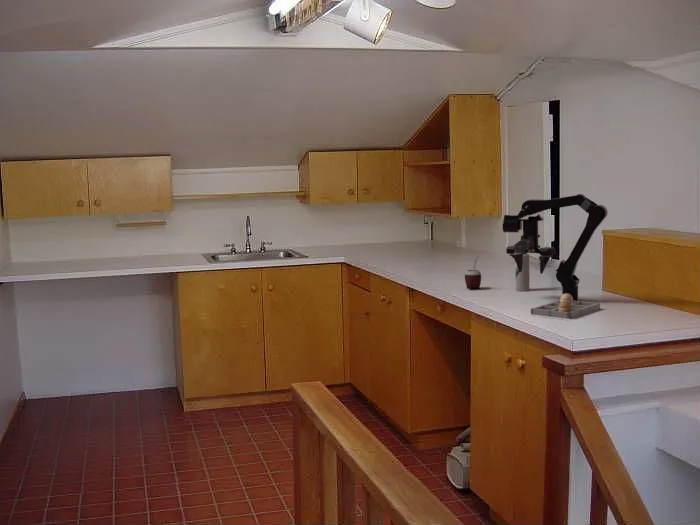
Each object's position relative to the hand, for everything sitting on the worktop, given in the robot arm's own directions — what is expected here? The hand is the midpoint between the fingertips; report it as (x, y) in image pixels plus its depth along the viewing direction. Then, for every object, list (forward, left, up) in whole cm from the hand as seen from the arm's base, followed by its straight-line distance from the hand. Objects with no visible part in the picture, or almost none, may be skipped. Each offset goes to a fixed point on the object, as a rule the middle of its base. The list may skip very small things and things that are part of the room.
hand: (530, 272), depth 310 cm
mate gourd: (-12, -35, -11) cm, 39 cm away
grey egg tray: (+15, +23, -11) cm, 30 cm away
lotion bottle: (-20, -16, -11) cm, 28 cm away
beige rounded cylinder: (+8, +19, -10) cm, 24 cm away
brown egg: (+22, +26, -10) cm, 36 cm away
